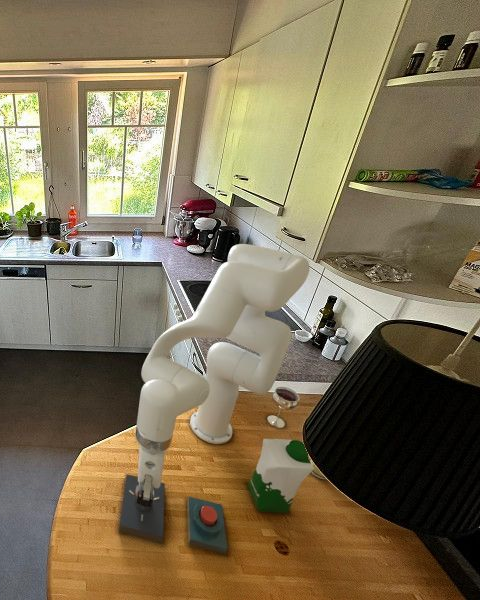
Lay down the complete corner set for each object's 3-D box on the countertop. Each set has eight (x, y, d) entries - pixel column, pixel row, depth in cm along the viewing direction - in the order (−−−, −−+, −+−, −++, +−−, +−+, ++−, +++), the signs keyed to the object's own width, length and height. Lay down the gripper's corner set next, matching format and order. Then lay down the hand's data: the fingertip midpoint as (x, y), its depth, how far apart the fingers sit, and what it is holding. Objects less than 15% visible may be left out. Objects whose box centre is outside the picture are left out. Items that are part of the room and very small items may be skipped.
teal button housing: (187, 501, 83) (189, 492, 81) (220, 509, 81) (223, 500, 79) (188, 544, 74) (191, 534, 72) (225, 554, 73) (229, 545, 71)
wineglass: (271, 430, 102) (282, 402, 97) (260, 413, 108) (270, 386, 103) (292, 429, 102) (304, 402, 97) (280, 413, 108) (291, 386, 103)
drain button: (199, 508, 78) (200, 503, 77) (215, 512, 77) (216, 507, 76) (200, 523, 75) (201, 519, 74) (216, 527, 74) (218, 523, 73)
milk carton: (293, 517, 79) (321, 465, 70) (255, 515, 80) (279, 463, 70) (276, 482, 87) (299, 431, 78) (242, 481, 88) (261, 430, 78)
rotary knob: (147, 491, 82) (149, 480, 80) (155, 509, 78) (157, 497, 76) (131, 496, 81) (133, 484, 79) (138, 514, 77) (140, 502, 75)
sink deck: (125, 480, 88) (126, 473, 86) (163, 490, 85) (164, 482, 84) (118, 531, 77) (119, 524, 75) (161, 544, 74) (163, 536, 73)
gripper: (172, 474, 60) (160, 527, 67) (172, 406, 74) (162, 455, 82) (131, 465, 61) (124, 517, 69) (139, 400, 76) (133, 449, 84)
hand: (145, 483), depth 76 cm, fingers open, 9 cm apart
